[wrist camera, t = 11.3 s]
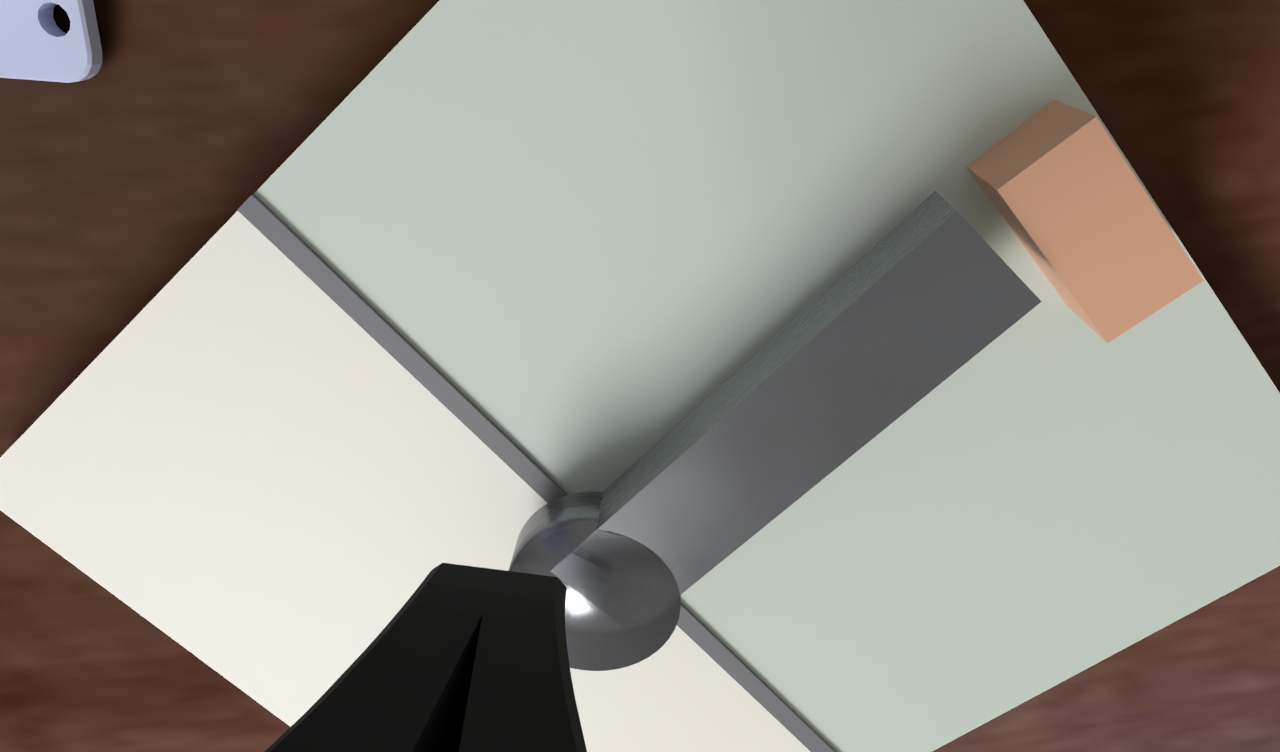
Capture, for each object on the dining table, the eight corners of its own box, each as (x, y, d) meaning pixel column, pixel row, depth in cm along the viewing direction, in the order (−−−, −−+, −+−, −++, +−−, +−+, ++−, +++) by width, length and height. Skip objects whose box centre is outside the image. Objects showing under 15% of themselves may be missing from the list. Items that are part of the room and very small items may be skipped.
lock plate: (10, 458, 19) (-91, 535, 17) (778, -336, 13) (802, -406, 10) (582, 897, 25) (570, 1006, 22) (1322, 487, 18) (1425, 573, 16)
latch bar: (603, 653, 18) (598, 697, 17) (480, 562, 17) (467, 602, 16) (1037, 299, 15) (1065, 327, 14) (909, 164, 14) (930, 181, 13)
